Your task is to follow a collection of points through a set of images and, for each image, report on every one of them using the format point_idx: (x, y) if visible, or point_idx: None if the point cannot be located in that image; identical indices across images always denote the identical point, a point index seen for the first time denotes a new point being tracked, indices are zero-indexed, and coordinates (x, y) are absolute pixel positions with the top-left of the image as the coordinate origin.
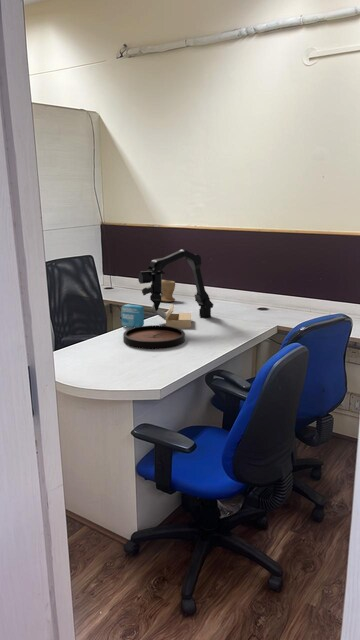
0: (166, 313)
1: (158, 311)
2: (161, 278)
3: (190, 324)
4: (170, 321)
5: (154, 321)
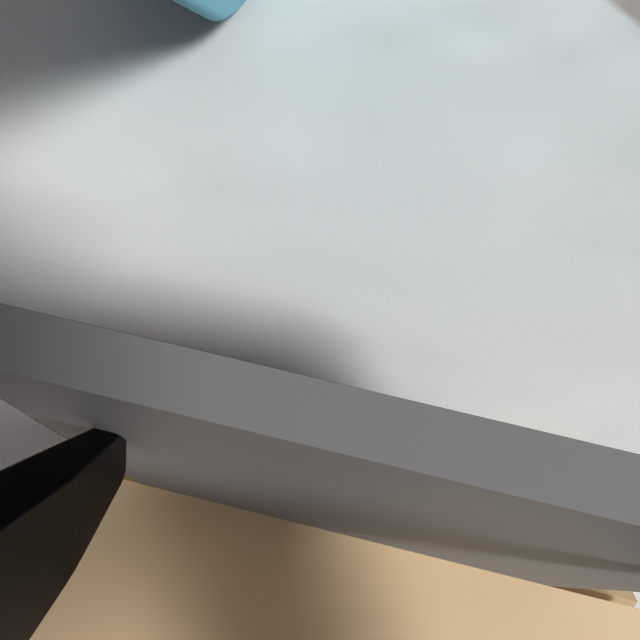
0: (541, 589)
1: (264, 488)
2: None
3: None
4: None
5: (569, 295)
